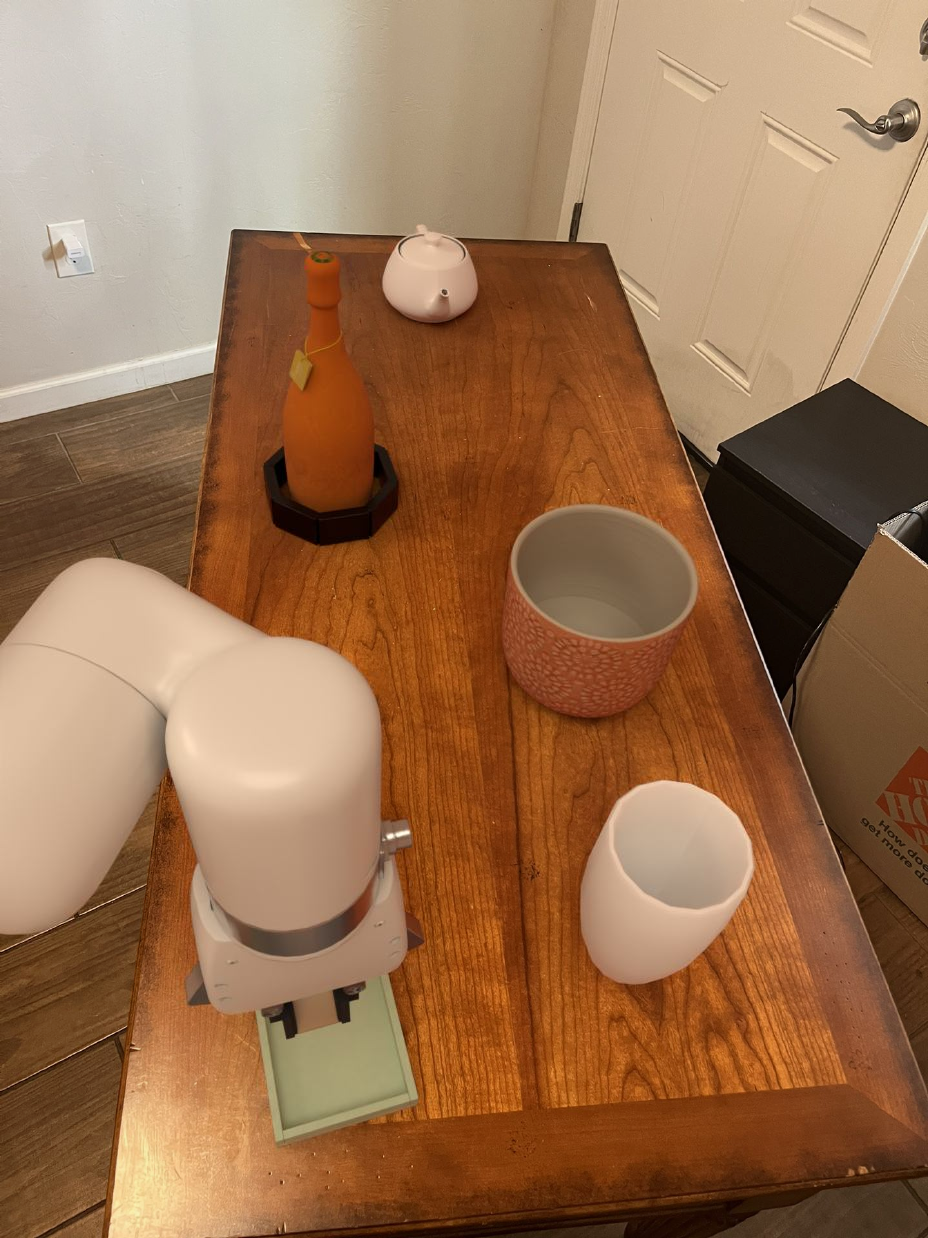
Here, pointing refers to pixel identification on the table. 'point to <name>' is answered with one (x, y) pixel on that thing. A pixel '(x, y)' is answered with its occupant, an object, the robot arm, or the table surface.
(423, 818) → the table surface
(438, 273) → the teapot
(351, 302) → the table surface
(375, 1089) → the tray
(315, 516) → the bottle stand
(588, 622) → the planter
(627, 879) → the cup
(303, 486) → the wine bottle
